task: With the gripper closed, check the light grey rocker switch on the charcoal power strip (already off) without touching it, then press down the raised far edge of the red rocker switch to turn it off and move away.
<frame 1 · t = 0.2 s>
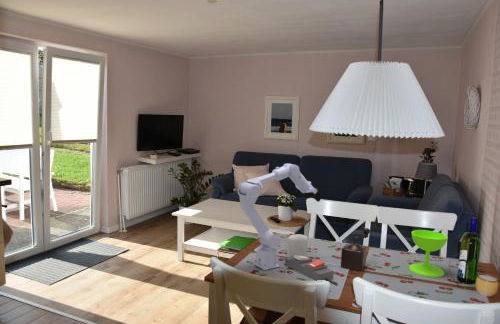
hand: (314, 198, 206), 31 cm above the table, tool tilted 45°, fingers open, 7 cm apart
power strip: (308, 271, 189), on the table
grey rocker: (301, 257, 192), point 5 cm above the table, hinge at 12.0°
manual coffee grinder: (354, 265, 200), on the table
wineglass: (426, 270, 196), on the table
red rocker: (316, 264, 184), point 5 cm above the table, hinge at -12.0°
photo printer: (296, 258, 207), on the table
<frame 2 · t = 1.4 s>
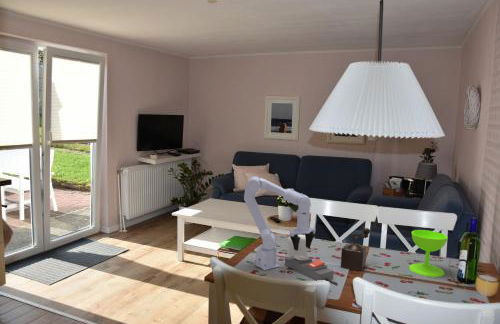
hand: (301, 248, 192), 9 cm above the table, tool pointing down, fingers open, 7 cm apart
nothing on the table moved.
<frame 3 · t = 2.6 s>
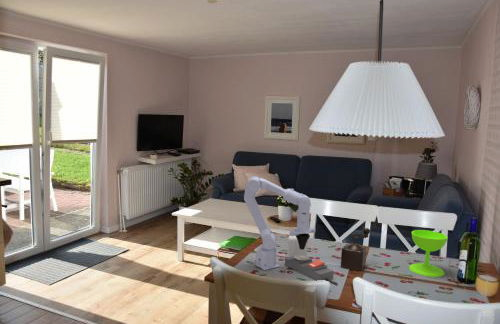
hand: (301, 248, 192), 9 cm above the table, tool pointing down, fingers closed
nothing on the table moved.
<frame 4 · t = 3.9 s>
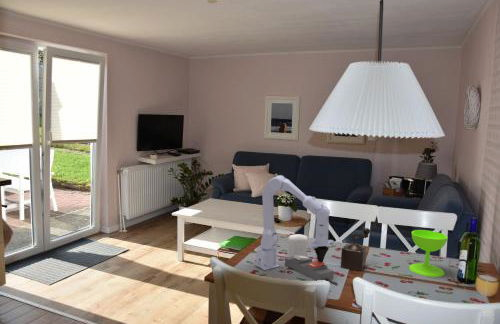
hand: (320, 261, 186), 6 cm above the table, tool pointing down, fingers closed, pressing on red rocker
red rocker: (316, 264, 184), point 5 cm above the table, hinge at -12.0°, touching gripper
everything else where it was.
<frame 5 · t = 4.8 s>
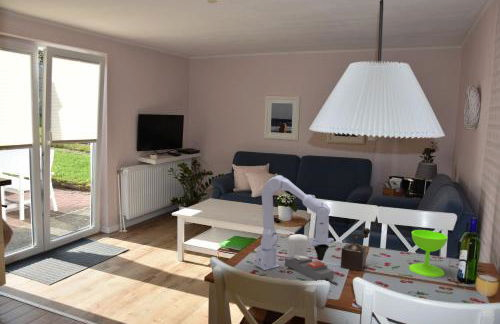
hand: (320, 259, 186), 7 cm above the table, tool pointing down, fingers closed
red rocker: (316, 264, 184), point 5 cm above the table, hinge at -1.2°
everything else where it was.
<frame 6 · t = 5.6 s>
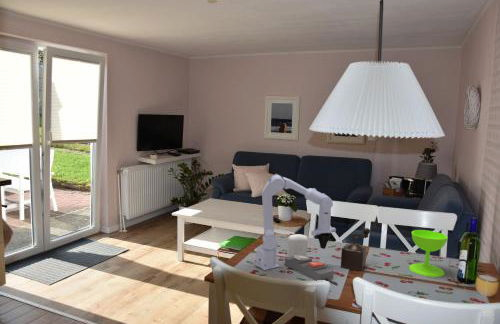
hand: (322, 248, 194), 9 cm above the table, tool pointing down, fingers closed
red rocker: (316, 264, 184), point 5 cm above the table, hinge at 6.8°
everything else where it was.
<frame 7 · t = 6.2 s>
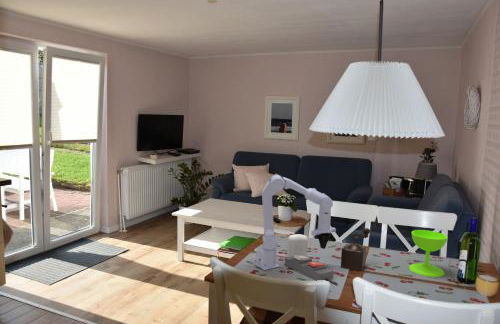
hand: (322, 248, 194), 9 cm above the table, tool pointing down, fingers closed
red rocker: (316, 264, 184), point 5 cm above the table, hinge at 11.2°
everything else where it was.
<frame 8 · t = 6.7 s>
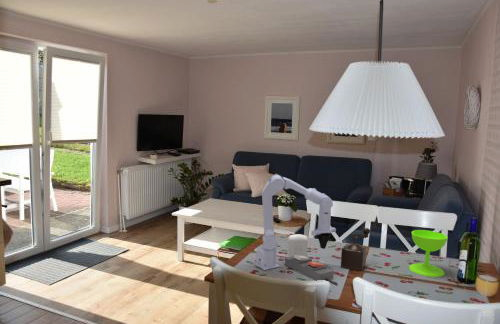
hand: (322, 248, 194), 9 cm above the table, tool pointing down, fingers closed
red rocker: (316, 264, 184), point 5 cm above the table, hinge at 14.0°
everything else where it was.
at the end: red rocker at +15° (first picture: -12°); grey rocker at +12° (first picture: +12°); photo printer moved 0.3 cm from its start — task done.
